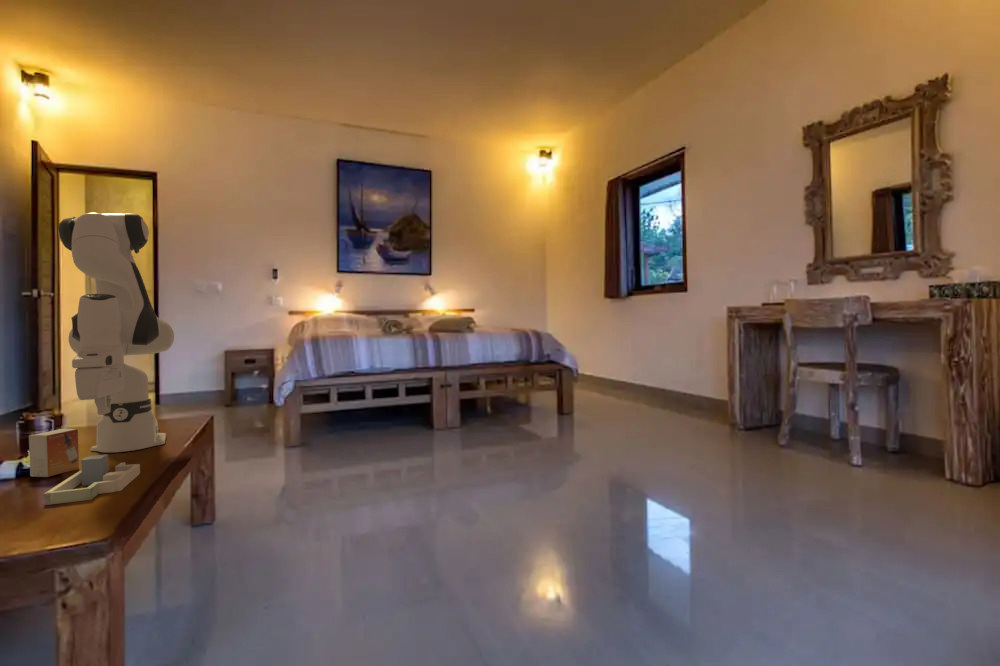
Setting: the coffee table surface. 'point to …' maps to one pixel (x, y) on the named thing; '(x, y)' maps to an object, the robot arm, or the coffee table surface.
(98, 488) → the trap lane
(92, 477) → the slate block
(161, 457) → the coffee table surface
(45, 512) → the coffee table surface
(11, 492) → the coffee table surface
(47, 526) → the coffee table surface
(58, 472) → the small box
